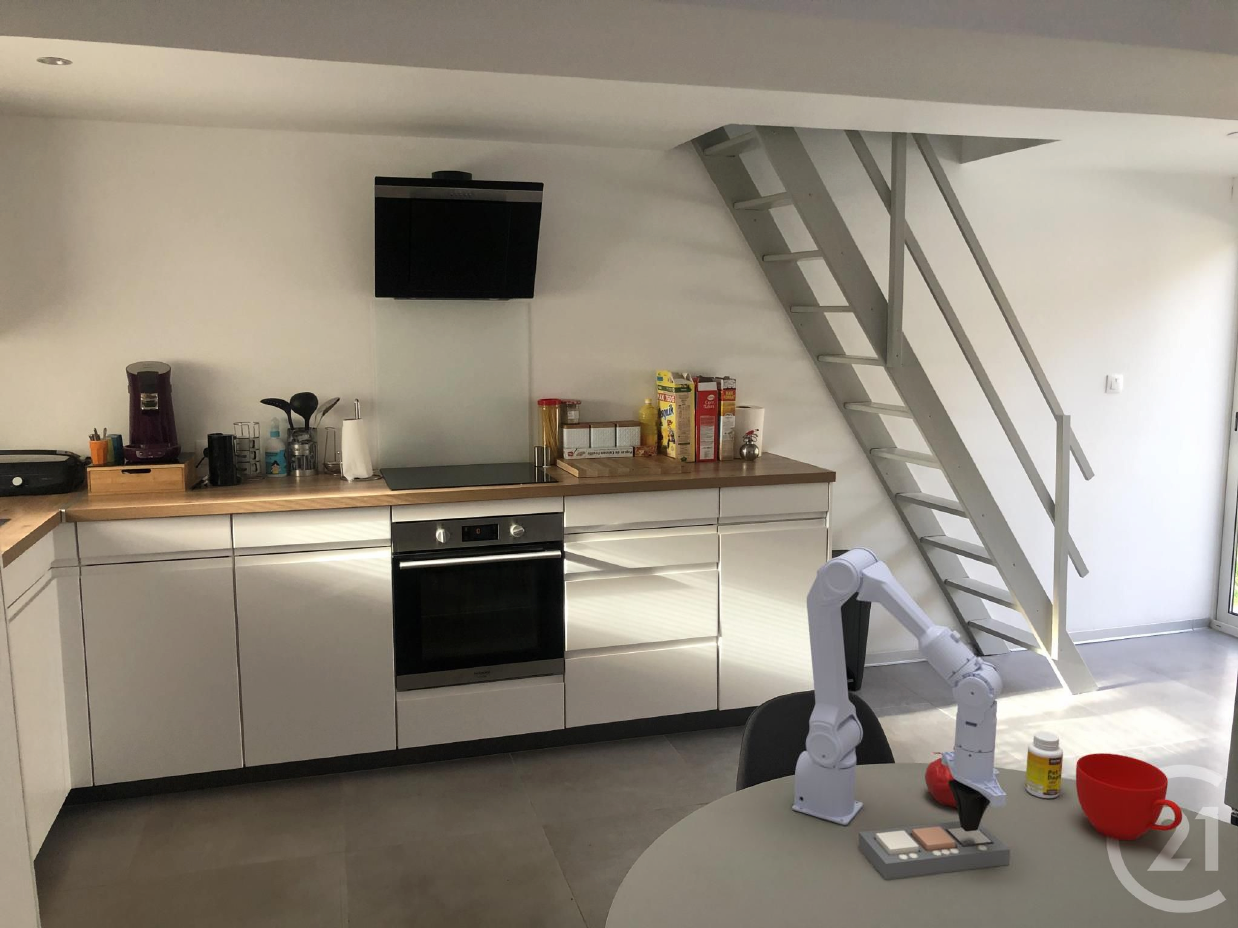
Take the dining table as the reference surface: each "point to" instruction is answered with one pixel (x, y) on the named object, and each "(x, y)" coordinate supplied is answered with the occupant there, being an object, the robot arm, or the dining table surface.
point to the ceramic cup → (1122, 795)
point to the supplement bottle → (1044, 765)
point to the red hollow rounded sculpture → (940, 782)
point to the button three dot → (933, 838)
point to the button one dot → (968, 837)
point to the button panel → (933, 854)
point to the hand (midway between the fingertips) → (969, 828)
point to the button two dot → (896, 843)
